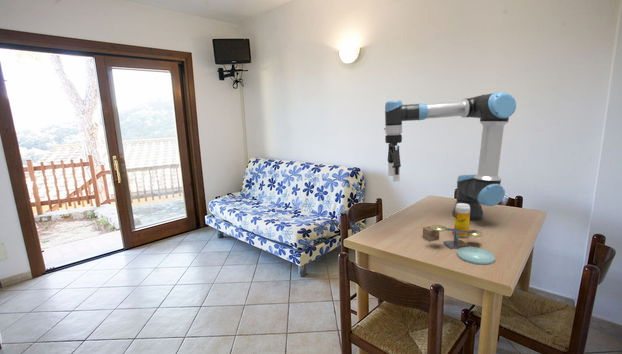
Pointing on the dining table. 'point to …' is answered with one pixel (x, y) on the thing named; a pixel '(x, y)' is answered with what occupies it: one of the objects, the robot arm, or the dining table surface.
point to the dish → (476, 255)
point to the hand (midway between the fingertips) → (393, 178)
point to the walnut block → (430, 234)
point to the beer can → (462, 218)
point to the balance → (456, 236)
